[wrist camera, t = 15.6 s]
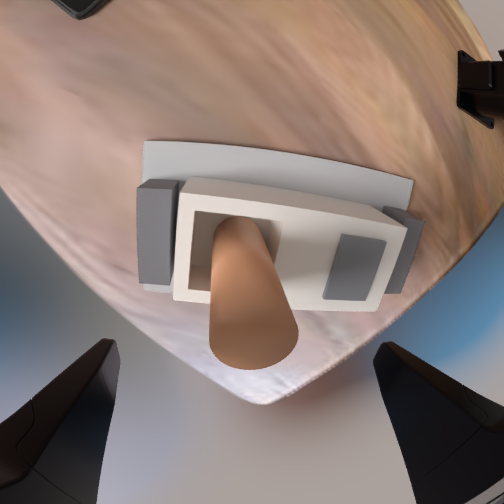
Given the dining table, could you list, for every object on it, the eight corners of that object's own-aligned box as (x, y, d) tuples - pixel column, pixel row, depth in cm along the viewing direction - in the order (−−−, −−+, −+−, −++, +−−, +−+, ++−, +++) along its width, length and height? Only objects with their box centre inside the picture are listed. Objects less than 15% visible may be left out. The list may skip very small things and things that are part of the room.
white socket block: (369, 205, 19) (410, 230, 15) (347, 276, 22) (377, 314, 17) (189, 176, 17) (179, 194, 12) (181, 260, 19) (172, 302, 15)
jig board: (406, 178, 20) (437, 189, 16) (373, 293, 24) (394, 318, 21) (147, 140, 17) (130, 142, 13) (146, 284, 21) (135, 314, 17)
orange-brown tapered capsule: (264, 217, 17) (306, 303, 9) (259, 262, 18) (290, 368, 10) (213, 214, 16) (208, 303, 8) (212, 260, 18) (209, 369, 9)
